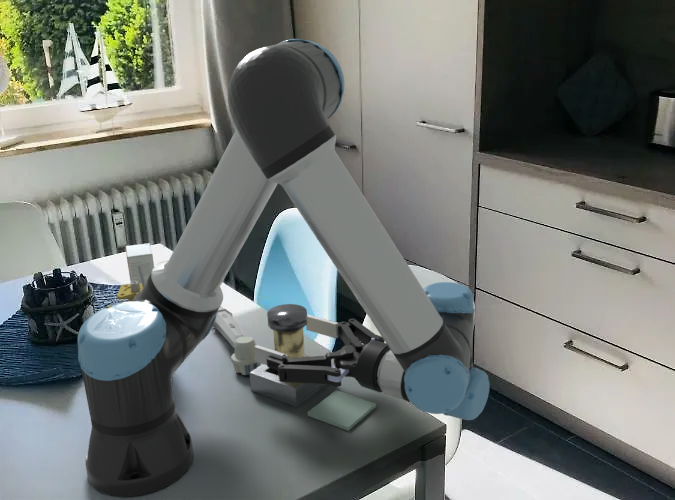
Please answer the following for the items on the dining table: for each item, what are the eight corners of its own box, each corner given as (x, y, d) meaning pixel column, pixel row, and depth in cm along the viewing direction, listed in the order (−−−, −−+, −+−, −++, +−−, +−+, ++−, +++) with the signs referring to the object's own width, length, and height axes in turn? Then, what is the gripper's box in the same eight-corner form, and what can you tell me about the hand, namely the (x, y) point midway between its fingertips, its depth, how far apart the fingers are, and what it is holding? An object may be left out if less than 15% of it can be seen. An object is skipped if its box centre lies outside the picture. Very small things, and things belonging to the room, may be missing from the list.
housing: (296, 407, 118) (295, 388, 117) (251, 390, 124) (249, 372, 123) (332, 380, 126) (331, 363, 125) (287, 366, 131) (286, 349, 130)
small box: (131, 287, 170) (125, 245, 167) (155, 284, 172) (150, 242, 168) (132, 300, 163) (126, 256, 159) (158, 296, 164) (152, 253, 161)
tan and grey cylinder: (295, 399, 120) (290, 324, 116) (265, 388, 124) (259, 315, 119) (318, 382, 125) (314, 309, 121) (289, 372, 129) (284, 301, 124)
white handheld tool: (229, 303, 150) (262, 336, 127) (233, 333, 152) (266, 371, 129) (204, 307, 148) (233, 342, 126) (208, 338, 150) (238, 378, 127)
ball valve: (109, 336, 146) (101, 291, 143) (116, 315, 156) (109, 272, 152) (172, 330, 148) (166, 285, 144) (175, 309, 157) (170, 267, 154)
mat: (348, 430, 111) (348, 427, 111) (307, 415, 116) (307, 412, 116) (376, 406, 117) (376, 403, 117) (336, 393, 122) (336, 390, 122)
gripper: (343, 429, 103) (234, 388, 115) (428, 358, 122) (327, 329, 133) (341, 383, 100) (230, 346, 112) (428, 317, 119) (325, 291, 131)
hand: (282, 337), depth 123 cm, fingers open, 13 cm apart
